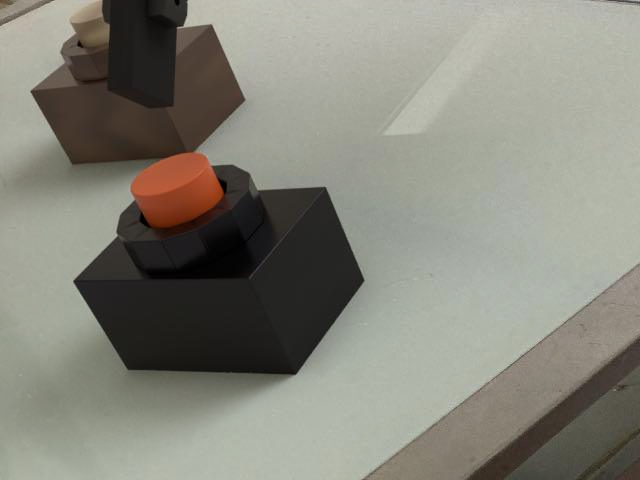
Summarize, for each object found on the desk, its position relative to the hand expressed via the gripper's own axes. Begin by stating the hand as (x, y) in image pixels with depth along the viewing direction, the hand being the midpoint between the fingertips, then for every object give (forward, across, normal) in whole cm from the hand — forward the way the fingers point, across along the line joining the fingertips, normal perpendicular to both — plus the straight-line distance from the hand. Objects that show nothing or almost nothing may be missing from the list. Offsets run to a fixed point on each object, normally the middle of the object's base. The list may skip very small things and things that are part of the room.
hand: (140, 98), depth 54 cm
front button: (+4, 0, -3) cm, 5 cm away
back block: (-7, +22, -25) cm, 34 cm away
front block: (+9, 0, -8) cm, 13 cm away
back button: (-12, +22, -20) cm, 32 cm away
